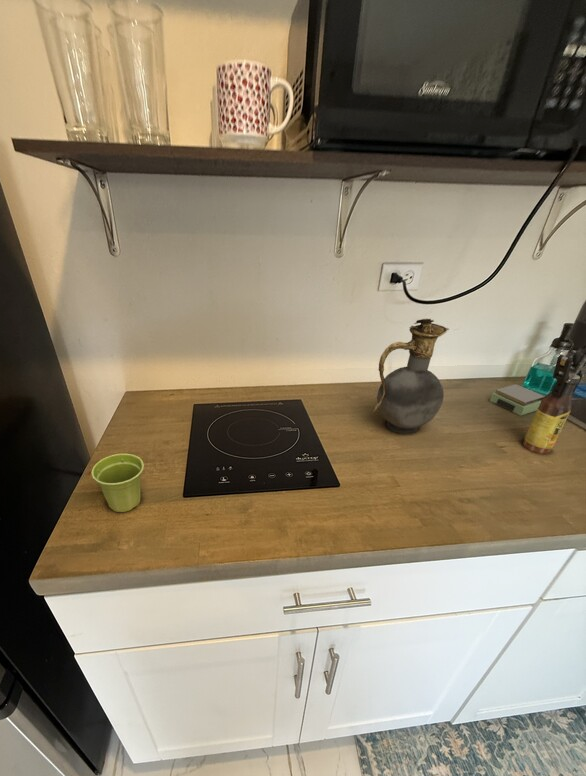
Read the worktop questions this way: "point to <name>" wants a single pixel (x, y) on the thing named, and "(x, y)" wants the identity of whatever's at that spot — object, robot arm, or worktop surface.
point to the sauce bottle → (549, 420)
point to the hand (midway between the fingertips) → (562, 393)
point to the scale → (514, 404)
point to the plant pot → (120, 480)
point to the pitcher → (411, 382)
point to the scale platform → (519, 394)
